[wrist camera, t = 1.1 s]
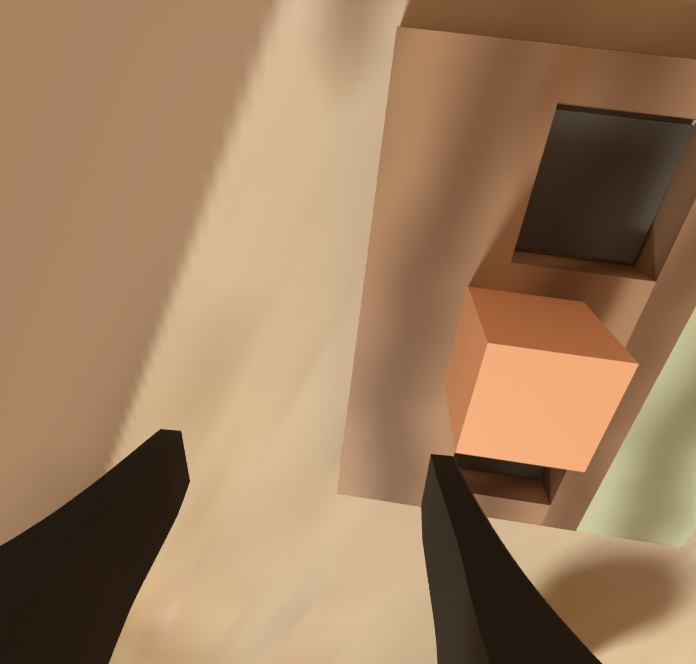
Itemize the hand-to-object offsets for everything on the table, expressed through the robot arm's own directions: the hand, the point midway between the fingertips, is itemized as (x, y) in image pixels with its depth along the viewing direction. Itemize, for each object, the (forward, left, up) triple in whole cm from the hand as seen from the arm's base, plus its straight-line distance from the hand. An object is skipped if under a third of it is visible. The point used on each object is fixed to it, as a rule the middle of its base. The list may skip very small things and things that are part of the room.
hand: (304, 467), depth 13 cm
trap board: (-11, 0, -11) cm, 15 cm away
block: (-8, 0, -9) cm, 12 cm away
